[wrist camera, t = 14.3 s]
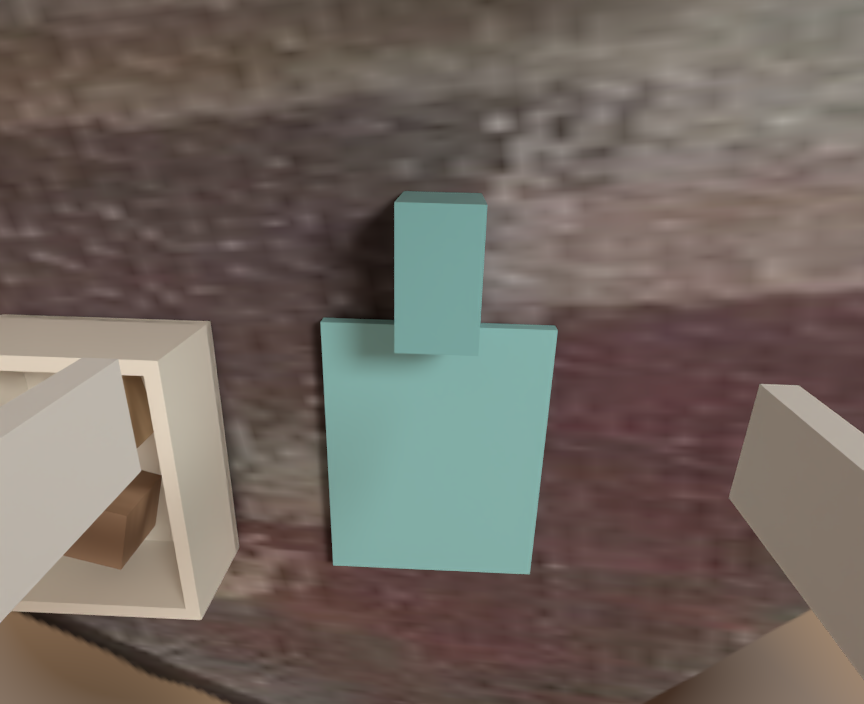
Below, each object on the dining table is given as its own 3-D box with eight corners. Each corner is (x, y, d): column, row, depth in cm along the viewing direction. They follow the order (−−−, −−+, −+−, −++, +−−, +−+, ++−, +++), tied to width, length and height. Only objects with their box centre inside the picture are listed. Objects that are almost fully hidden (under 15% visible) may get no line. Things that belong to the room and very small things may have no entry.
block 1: (98, 458, 34) (54, 497, 30) (162, 475, 34) (126, 516, 31) (94, 509, 36) (51, 553, 32) (155, 525, 36) (121, 569, 32)
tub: (3, 314, 32) (-94, 351, 26) (210, 321, 31) (157, 360, 26) (64, 539, 37) (-5, 610, 32) (239, 547, 37) (201, 619, 31)
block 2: (72, 374, 32) (22, 405, 28) (136, 366, 32) (94, 396, 28) (97, 434, 34) (53, 471, 30) (159, 426, 33) (121, 463, 29)
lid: (317, 188, 28) (290, 198, 24) (569, 195, 28) (592, 207, 23) (335, 556, 37) (318, 616, 33) (528, 565, 37) (538, 627, 32)
